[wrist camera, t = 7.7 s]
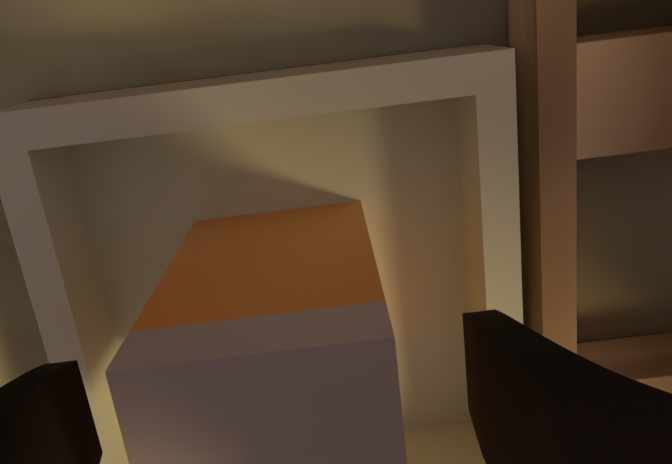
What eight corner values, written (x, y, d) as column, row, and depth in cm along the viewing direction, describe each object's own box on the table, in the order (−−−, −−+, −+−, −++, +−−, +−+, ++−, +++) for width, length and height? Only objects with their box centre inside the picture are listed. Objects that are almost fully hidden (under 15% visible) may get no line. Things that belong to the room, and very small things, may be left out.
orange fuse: (360, 200, 15) (394, 337, 9) (376, 348, 17) (417, 564, 10) (195, 220, 15) (104, 371, 9) (224, 366, 17) (163, 595, 10)
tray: (483, 43, 15) (514, 48, 12) (500, 431, 18) (528, 492, 16) (30, 100, 15) (-25, 115, 13) (130, 475, 18) (102, 543, 16)
